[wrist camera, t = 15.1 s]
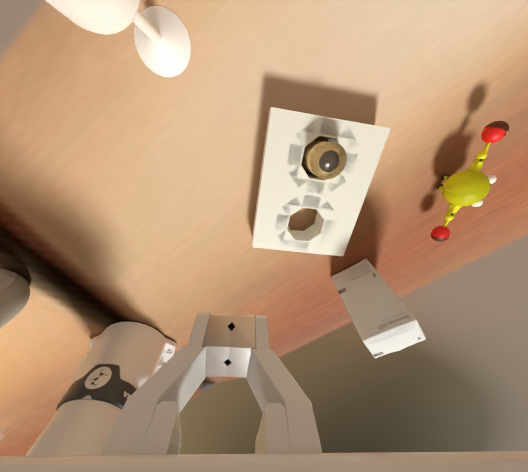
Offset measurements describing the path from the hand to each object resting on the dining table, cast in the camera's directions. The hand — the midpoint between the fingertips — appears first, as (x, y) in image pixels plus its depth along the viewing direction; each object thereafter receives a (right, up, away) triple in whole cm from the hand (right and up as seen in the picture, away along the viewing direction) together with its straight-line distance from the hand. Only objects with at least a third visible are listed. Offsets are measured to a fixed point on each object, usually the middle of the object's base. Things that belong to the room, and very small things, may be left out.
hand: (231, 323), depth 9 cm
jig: (+9, +12, +25) cm, 29 cm away
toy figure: (+32, +13, +26) cm, 43 cm away
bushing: (+9, +16, +23) cm, 30 cm away
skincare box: (+20, -5, +34) cm, 40 cm away
